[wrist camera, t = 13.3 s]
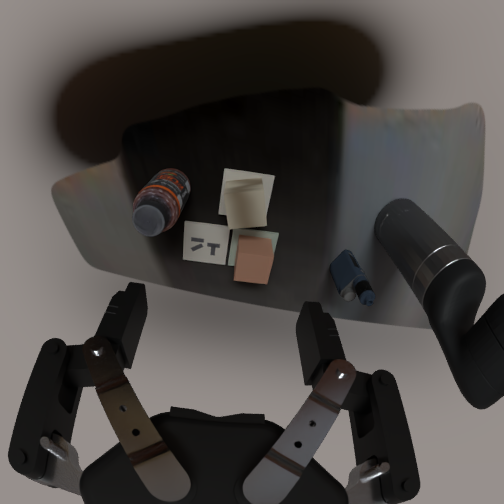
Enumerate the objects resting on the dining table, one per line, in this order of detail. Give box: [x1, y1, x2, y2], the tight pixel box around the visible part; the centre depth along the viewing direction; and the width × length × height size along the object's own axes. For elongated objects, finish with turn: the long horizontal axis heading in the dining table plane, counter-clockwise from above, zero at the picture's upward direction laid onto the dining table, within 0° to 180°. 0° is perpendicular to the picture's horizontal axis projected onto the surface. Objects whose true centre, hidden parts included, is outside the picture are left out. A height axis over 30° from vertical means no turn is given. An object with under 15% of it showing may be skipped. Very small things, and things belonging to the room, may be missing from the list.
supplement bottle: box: [132, 169, 191, 237], centre depth 34 cm, size 6×6×11 cm
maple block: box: [224, 178, 267, 229], centre depth 38 cm, size 5×5×5 cm
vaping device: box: [330, 250, 375, 306], centre depth 42 cm, size 3×5×12 cm, turn 145°
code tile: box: [183, 221, 230, 265], centre depth 44 cm, size 7×7×1 cm
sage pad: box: [228, 228, 279, 266], centre depth 45 cm, size 7×7×1 cm
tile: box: [219, 168, 275, 215], centre depth 40 cm, size 7×7×1 cm
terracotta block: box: [234, 235, 274, 284], centre depth 43 cm, size 5×5×5 cm
